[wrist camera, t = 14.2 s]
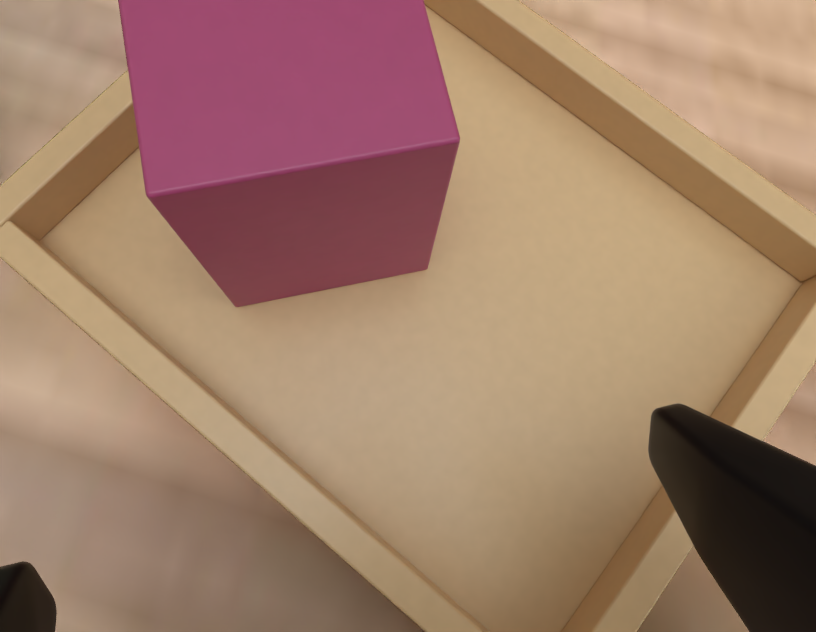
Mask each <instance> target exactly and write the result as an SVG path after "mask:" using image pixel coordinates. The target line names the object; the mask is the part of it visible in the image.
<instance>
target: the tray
mask: <svg viewBox="0 0 816 632" xmlns="http://www.w3.org/2000/svg"><path fill="white" fill-rule="evenodd" d="M424 3H425V7H426V11H427V15H428V18H429V22H430V26H431V30H432V33H433V37H434V41H435V45H436V48H437V52H438V56H439V60H440V64H441V67H442V71H443V75H444V79H445V82H446V86H447V90H448V94H449V97H450V101H451V105H452V109H453V113H454V116H455V120H456V124H457V128H458V131H459V135H460V143H459V147H458V151H457V155H456V159H455V163H454V167H453V170H452V174H451V178H450V182H449V186H448V190H447V194H446V198H445V202H444V206H443V210H442V214H441V218H440V222H439V226H438V230H437V234H436V238H435V241H434V245H433V249H432V253H431V257H430V261H429V265H428V269H426V270H422V271H417V272H412V273H407V274H402V275H397V276H392V277H387V278H382V279H377V280H372V281H367V282H362V283H357V284H352V285H347V286H342V287H337V288H332V289H327V290H321V291H316V292H311V293H306V294H301V295H296V296H291V297H286V298H281V299H276V300H271V301H266V302H261V303H256V304H251V305H246V306H241V307H235V306H234V305H233V303H232V302H231V301H230V300H229V299H228V297H227V296H226V295H225V294H224V292H223V291H222V290H221V289H220V287H219V286H218V285H217V284H216V282H215V281H214V280H213V279H212V277H211V276H210V275H209V274H208V272H207V271H206V270H205V269H204V267H203V266H202V265H201V264H200V262H199V261H198V260H197V259H196V257H195V256H194V255H193V254H192V252H191V251H190V250H189V249H188V247H187V246H186V245H185V244H184V242H183V241H182V240H181V239H180V237H179V236H178V235H177V234H176V232H175V231H174V230H173V229H172V227H171V226H170V225H169V224H168V222H167V221H166V220H165V219H164V217H163V216H162V215H161V214H160V212H159V211H158V210H157V209H156V207H155V206H154V205H153V204H152V202H151V201H150V200H149V199H148V197H147V196H146V193H145V186H144V179H143V171H142V164H141V157H140V150H139V143H138V136H137V129H136V122H135V115H134V108H133V101H132V94H131V87H130V80H129V73H128V70H127V71H126V72H125V73H124V74H123V75H122V76H120V77H119V78H118V79H117V80H116V81H115V82H114V83H113V84H112V85H111V86H109V87H108V88H107V89H106V90H105V91H104V92H103V93H102V94H101V95H100V96H98V97H97V98H96V99H95V100H94V101H93V102H92V103H91V104H90V105H89V106H87V107H86V108H85V109H84V110H83V111H82V112H81V113H80V114H79V115H78V116H76V117H75V118H74V119H73V120H72V121H71V122H70V123H69V124H68V125H67V126H65V127H64V128H63V129H62V130H61V131H60V132H59V133H58V134H57V135H56V136H54V137H53V138H52V139H51V140H50V141H49V142H48V143H47V144H46V145H45V146H43V147H42V148H41V149H40V150H39V151H38V152H37V153H36V154H35V155H34V156H32V157H31V158H30V159H29V160H28V161H27V162H26V163H25V164H24V165H23V166H21V167H20V168H19V169H18V170H17V171H16V172H15V173H14V174H13V175H12V176H10V177H9V178H8V179H7V180H6V181H5V182H4V183H3V184H2V185H1V186H0V258H1V259H2V260H4V261H5V262H6V263H7V264H8V265H9V266H10V267H12V268H13V269H14V270H15V271H16V272H17V273H18V274H20V275H21V276H22V277H23V278H24V279H25V280H26V281H27V282H29V283H30V284H31V285H32V286H33V287H34V288H35V289H37V290H38V291H39V292H40V293H41V294H42V295H43V296H45V297H46V298H47V299H48V300H49V301H50V302H51V303H52V304H54V305H55V306H56V307H57V308H58V309H59V310H60V311H62V312H63V313H64V314H65V315H66V316H67V317H68V318H69V319H71V320H72V321H73V322H74V323H75V324H76V325H77V326H79V327H80V328H81V329H82V330H83V331H84V332H85V333H87V334H88V335H89V336H90V337H91V338H92V339H93V340H94V341H96V342H97V343H98V344H99V345H100V346H101V347H102V348H104V349H105V350H106V351H107V352H108V353H109V354H110V355H112V356H113V357H114V358H115V359H116V360H117V361H118V362H119V363H121V364H122V365H123V366H124V367H125V368H126V369H127V370H129V371H130V372H131V373H132V374H133V375H134V376H135V377H137V378H138V379H139V380H140V381H141V382H142V383H143V384H144V385H146V386H147V387H148V388H149V389H150V390H151V391H152V392H154V393H155V394H156V395H157V396H158V397H159V398H160V399H161V400H163V401H164V402H165V403H166V404H167V405H168V406H169V407H171V408H172V409H173V410H174V411H175V412H176V413H177V414H179V415H180V416H181V417H182V418H183V419H184V420H185V421H186V422H188V423H189V424H190V425H191V426H192V427H193V428H194V429H196V430H197V431H198V432H199V433H200V434H201V435H202V436H204V437H205V438H206V439H207V440H208V441H209V442H210V443H211V444H213V445H214V446H215V447H216V448H217V449H218V450H219V451H221V452H222V453H223V454H224V455H225V456H226V457H227V458H229V459H230V460H231V461H232V462H233V463H234V464H235V465H236V466H238V467H239V468H240V469H241V470H242V471H243V472H244V473H246V474H247V475H248V476H249V477H250V478H251V479H252V480H253V481H255V482H256V483H257V484H258V485H259V486H260V487H261V488H263V489H264V490H265V491H266V492H267V493H268V494H269V495H271V496H272V497H273V498H274V499H275V500H276V501H277V502H278V503H280V504H281V505H282V506H283V507H284V508H285V509H286V510H288V511H289V512H290V513H291V514H292V515H293V516H294V517H296V518H297V519H298V520H299V521H300V522H301V523H302V524H303V525H305V526H306V527H307V528H308V529H309V530H310V531H311V532H313V533H314V534H315V535H316V536H317V537H318V538H319V539H321V540H322V541H323V542H324V543H325V544H326V545H327V546H328V547H330V548H331V549H332V550H333V551H334V552H335V553H336V554H338V555H339V556H340V557H341V558H342V559H343V560H344V561H345V562H347V563H348V564H349V565H350V566H351V567H352V568H353V569H355V570H356V571H357V572H358V573H359V574H360V575H361V576H363V577H364V578H365V579H366V580H367V581H368V582H369V583H370V584H372V585H373V586H374V587H375V588H376V589H377V590H378V591H380V592H381V593H382V594H383V595H384V596H385V597H386V598H388V599H389V600H390V601H391V602H392V603H393V604H394V605H395V606H397V607H398V608H399V609H400V610H401V611H402V612H403V613H405V614H406V615H407V616H408V617H409V618H410V619H411V620H413V621H414V622H415V623H416V624H417V625H418V626H419V627H420V628H422V629H423V630H424V631H425V632H637V630H638V629H639V627H640V626H641V624H642V623H643V621H644V620H645V618H646V617H647V615H648V614H649V612H650V611H651V609H652V608H653V606H654V605H655V603H656V602H657V600H658V599H659V597H660V596H661V594H662V593H663V591H664V590H665V588H666V587H667V585H668V584H669V582H670V581H671V579H672V578H673V576H674V575H675V573H676V572H677V570H678V569H679V567H680V565H681V564H682V562H683V561H684V559H685V558H686V556H687V555H688V553H689V552H690V550H691V549H692V547H693V546H694V545H693V543H692V541H691V539H690V538H689V536H688V534H687V532H686V530H685V528H684V526H683V524H682V522H681V520H680V518H679V516H678V514H677V512H676V511H675V509H674V507H673V505H672V503H671V501H670V499H669V497H668V495H667V493H666V491H665V489H664V487H663V485H662V484H661V482H660V480H659V478H658V476H657V474H656V472H655V470H654V468H653V466H652V464H651V461H650V458H649V453H648V444H649V433H650V421H651V414H652V412H653V411H654V410H655V409H656V408H659V407H663V406H667V405H672V404H677V403H680V404H683V405H686V406H688V407H690V408H692V409H695V410H697V411H699V412H701V413H703V414H705V415H708V416H710V417H712V418H714V419H716V420H718V421H720V422H723V423H725V424H727V425H729V426H731V427H733V428H735V429H738V430H740V431H742V432H744V433H746V434H748V435H750V436H753V437H755V438H757V439H759V440H761V441H763V440H764V439H765V437H766V436H767V434H768V433H769V431H770V430H771V428H772V427H773V425H774V424H775V422H776V421H777V419H778V418H779V416H780V415H781V413H782V412H783V410H784V408H785V407H786V405H787V404H788V402H789V401H790V399H791V398H792V396H793V395H794V393H795V392H796V390H797V389H798V387H799V386H800V384H801V383H802V381H803V380H804V378H805V377H806V375H807V374H808V372H809V371H810V369H811V368H812V366H813V365H814V363H815V362H816V215H815V214H814V213H812V212H811V211H810V210H808V209H807V208H805V207H804V206H803V205H801V204H800V203H798V202H797V201H796V200H794V199H793V198H792V197H790V196H789V195H787V194H786V193H785V192H783V191H782V190H780V189H779V188H778V187H776V186H775V185H774V184H772V183H771V182H769V181H768V180H767V179H765V178H764V177H762V176H761V175H760V174H758V173H757V172H756V171H754V170H753V169H751V168H750V167H749V166H747V165H746V164H744V163H743V162H742V161H740V160H739V159H738V158H736V157H735V156H733V155H732V154H731V153H729V152H728V151H726V150H725V149H724V148H722V147H721V146H720V145H718V144H717V143H715V142H714V141H713V140H711V139H710V138H708V137H707V136H706V135H704V134H703V133H702V132H700V131H699V130H697V129H696V128H695V127H693V126H692V125H690V124H689V123H688V122H686V121H685V120H684V119H682V118H681V117H679V116H678V115H677V114H675V113H674V112H672V111H671V110H670V109H668V108H667V107H666V106H664V105H663V104H661V103H660V102H659V101H657V100H656V99H654V98H653V97H652V96H650V95H649V94H648V93H646V92H645V91H643V90H642V89H641V88H639V87H638V86H636V85H635V84H634V83H632V82H631V81H630V80H628V79H627V78H625V77H624V76H623V75H621V74H620V73H618V72H617V71H616V70H614V69H613V68H612V67H610V66H609V65H607V64H606V63H605V62H603V61H602V60H600V59H599V58H598V57H596V56H595V55H594V54H592V53H591V52H589V51H588V50H587V49H585V48H584V47H582V46H581V45H580V44H578V43H577V42H576V41H574V40H573V39H571V38H570V37H569V36H567V35H566V34H564V33H563V32H562V31H560V30H559V29H558V28H556V27H555V26H553V25H552V24H551V23H549V22H548V21H546V20H545V19H544V18H542V17H541V16H540V15H538V14H537V13H535V12H534V11H533V10H531V9H530V8H528V7H527V6H526V5H524V4H523V3H522V2H520V1H519V0H424Z"/></svg>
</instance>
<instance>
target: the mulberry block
mask: <svg viewBox="0 0 816 632" xmlns="http://www.w3.org/2000/svg"><path fill="white" fill-rule="evenodd" d="M118 2H119V9H120V16H121V24H122V31H123V38H124V45H125V52H126V59H127V66H128V73H129V80H130V87H131V94H132V101H133V108H134V115H135V122H136V129H137V136H138V143H139V150H140V157H141V164H142V171H143V179H144V186H145V193H146V196H147V197H148V199H149V200H150V201H151V202H152V204H153V205H154V206H155V207H156V209H157V210H158V211H159V212H160V214H161V215H162V216H163V217H164V219H165V220H166V221H167V222H168V224H169V225H170V226H171V227H172V229H173V230H174V231H175V232H176V234H177V235H178V236H179V237H180V239H181V240H182V241H183V242H184V244H185V245H186V246H187V247H188V249H189V250H190V251H191V252H192V254H193V255H194V256H195V257H196V259H197V260H198V261H199V262H200V264H201V265H202V266H203V267H204V269H205V270H206V271H207V272H208V274H209V275H210V276H211V277H212V279H213V280H214V281H215V282H216V284H217V285H218V286H219V287H220V289H221V290H222V291H223V292H224V294H225V295H226V296H227V297H228V299H229V300H230V301H231V302H232V303H233V305H234V306H235V307H241V306H246V305H251V304H256V303H261V302H266V301H271V300H276V299H281V298H286V297H291V296H296V295H301V294H306V293H311V292H316V291H321V290H327V289H332V288H337V287H342V286H347V285H352V284H357V283H362V282H367V281H372V280H377V279H382V278H387V277H392V276H397V275H402V274H407V273H412V272H417V271H422V270H426V269H428V265H429V261H430V257H431V253H432V249H433V245H434V241H435V238H436V234H437V230H438V226H439V222H440V218H441V214H442V210H443V206H444V202H445V198H446V194H447V190H448V186H449V182H450V178H451V174H452V170H453V167H454V163H455V159H456V155H457V151H458V147H459V143H460V135H459V131H458V128H457V124H456V120H455V116H454V113H453V109H452V105H451V101H450V97H449V94H448V90H447V86H446V82H445V79H444V75H443V71H442V67H441V64H440V60H439V56H438V52H437V48H436V45H435V41H434V37H433V33H432V30H431V26H430V22H429V18H428V15H427V11H426V7H425V3H424V0H118Z"/></svg>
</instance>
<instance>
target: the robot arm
mask: <svg viewBox="0 0 816 632" xmlns="http://www.w3.org/2000/svg"><path fill="white" fill-rule="evenodd" d="M648 453H649V458H650V461H651V464H652V466H653V468H654V470H655V472H656V474H657V476H658V478H659V480H660V482H661V484H662V485H663V487H664V489H665V491H666V493H667V495H668V497H669V499H670V501H671V503H672V505H673V507H674V509H675V511H676V512H677V514H678V516H679V518H680V520H681V522H682V524H683V526H684V528H685V530H686V532H687V534H688V536H689V538H690V539H691V541H692V543H693V545H694V547H695V549H696V550H697V552H698V554H699V555H700V557H701V559H702V560H703V562H704V563H705V565H706V567H707V568H708V570H709V571H710V573H711V574H712V576H713V577H714V579H715V580H716V582H717V583H718V585H719V586H720V588H721V589H722V591H723V592H724V594H725V595H726V597H727V598H728V600H729V601H730V603H731V604H732V606H733V607H734V609H735V611H736V612H737V614H738V615H739V617H740V618H741V620H742V621H743V623H744V624H745V626H746V627H747V629H748V630H749V632H816V466H815V465H813V464H811V463H808V462H806V461H804V460H802V459H800V458H798V457H796V456H793V455H791V454H789V453H787V452H785V451H783V450H781V449H778V448H776V447H774V446H772V445H770V444H768V443H765V442H763V441H761V440H759V439H757V438H755V437H753V436H750V435H748V434H746V433H744V432H742V431H740V430H738V429H735V428H733V427H731V426H729V425H727V424H725V423H723V422H720V421H718V420H716V419H714V418H712V417H710V416H708V415H705V414H703V413H701V412H699V411H697V410H695V409H692V408H690V407H688V406H686V405H683V404H680V403H677V404H672V405H667V406H663V407H659V408H656V409H655V410H654V411H653V412H652V414H651V421H650V433H649V444H648ZM55 626H56V604H55V601H54V598H53V596H52V594H51V593H50V591H49V590H48V588H47V587H46V585H45V583H44V582H43V580H42V579H41V577H40V576H39V574H38V573H37V571H36V570H35V568H34V567H33V566H32V564H30V563H28V562H18V563H14V564H10V565H6V566H2V567H0V632H55Z"/></svg>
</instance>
